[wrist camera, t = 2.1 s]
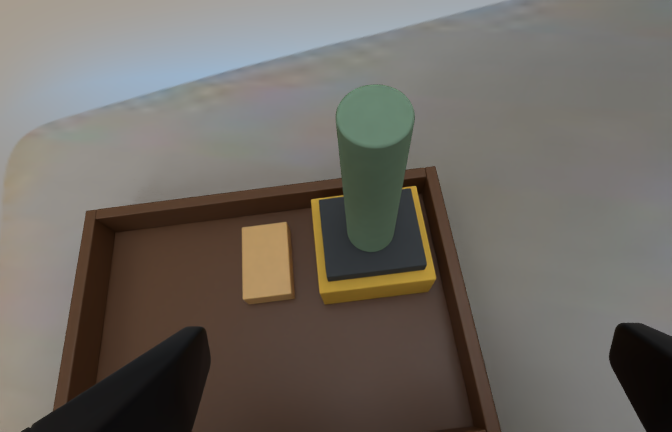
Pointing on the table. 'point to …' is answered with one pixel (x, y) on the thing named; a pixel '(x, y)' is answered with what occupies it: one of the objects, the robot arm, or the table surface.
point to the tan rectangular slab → (267, 263)
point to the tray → (277, 320)
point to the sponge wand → (372, 205)
